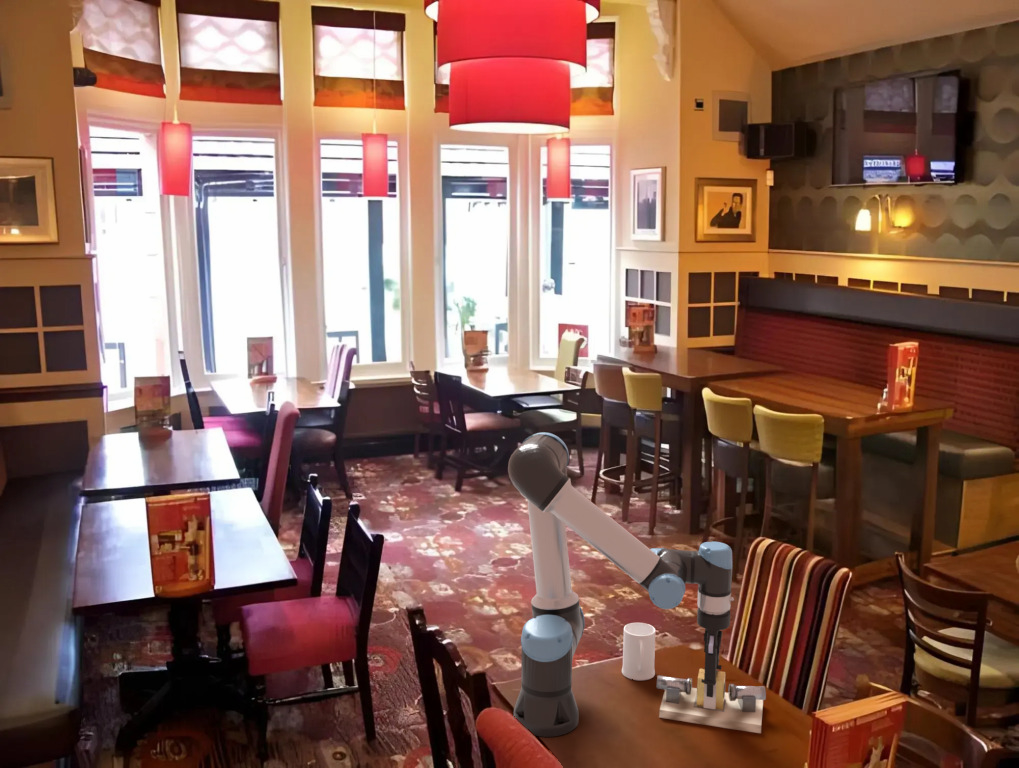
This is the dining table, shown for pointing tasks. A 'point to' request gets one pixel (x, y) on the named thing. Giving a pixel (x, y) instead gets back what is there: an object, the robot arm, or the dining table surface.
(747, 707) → the shaft right
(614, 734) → the dining table surface
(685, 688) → the shaft left
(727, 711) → the bench
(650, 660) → the mug
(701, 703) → the wooden block with hole
